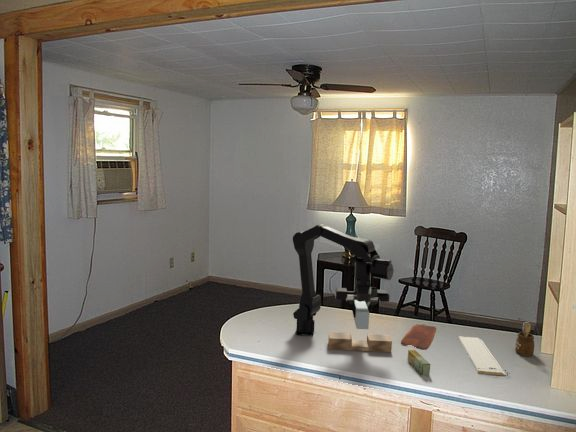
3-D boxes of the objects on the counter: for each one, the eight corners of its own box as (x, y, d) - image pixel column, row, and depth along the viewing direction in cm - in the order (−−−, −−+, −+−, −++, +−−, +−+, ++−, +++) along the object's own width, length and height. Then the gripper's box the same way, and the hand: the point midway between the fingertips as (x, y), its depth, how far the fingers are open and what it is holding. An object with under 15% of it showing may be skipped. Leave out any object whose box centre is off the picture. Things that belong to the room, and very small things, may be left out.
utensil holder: (532, 351, 170) (535, 319, 169) (534, 358, 164) (537, 325, 163) (514, 349, 172) (517, 317, 171) (516, 355, 166) (519, 322, 165)
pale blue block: (353, 315, 175) (353, 299, 175) (363, 315, 175) (364, 300, 174) (356, 328, 161) (357, 312, 161) (368, 329, 161) (369, 312, 160)
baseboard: (485, 342, 180) (458, 340, 181) (485, 334, 179) (458, 332, 181) (510, 377, 150) (477, 375, 151) (511, 369, 150) (478, 366, 151)
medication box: (430, 376, 148) (431, 364, 148) (422, 376, 148) (423, 364, 148) (414, 360, 160) (415, 349, 160) (406, 360, 160) (407, 349, 159)
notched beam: (328, 349, 167) (329, 338, 166) (328, 342, 173) (328, 332, 172) (391, 352, 166) (391, 341, 165) (388, 345, 172) (389, 335, 171)
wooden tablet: (426, 352, 169) (427, 347, 168) (399, 346, 173) (399, 341, 173) (439, 329, 192) (439, 325, 192) (414, 324, 197) (415, 320, 197)
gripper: (337, 280, 159) (335, 324, 161) (393, 282, 158) (390, 327, 160) (335, 272, 170) (334, 313, 172) (387, 274, 169) (385, 316, 171)
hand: (360, 317), depth 168 cm, fingers closed on pale blue block, 4 cm apart
